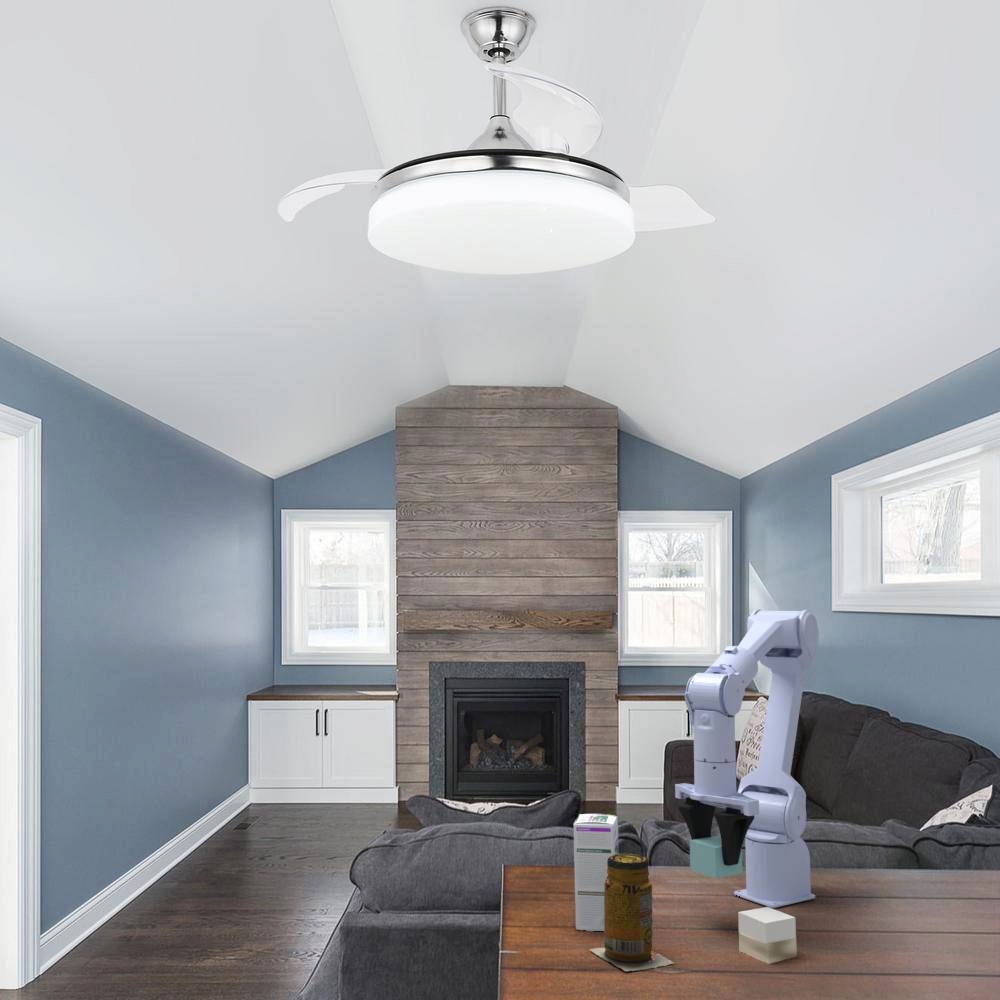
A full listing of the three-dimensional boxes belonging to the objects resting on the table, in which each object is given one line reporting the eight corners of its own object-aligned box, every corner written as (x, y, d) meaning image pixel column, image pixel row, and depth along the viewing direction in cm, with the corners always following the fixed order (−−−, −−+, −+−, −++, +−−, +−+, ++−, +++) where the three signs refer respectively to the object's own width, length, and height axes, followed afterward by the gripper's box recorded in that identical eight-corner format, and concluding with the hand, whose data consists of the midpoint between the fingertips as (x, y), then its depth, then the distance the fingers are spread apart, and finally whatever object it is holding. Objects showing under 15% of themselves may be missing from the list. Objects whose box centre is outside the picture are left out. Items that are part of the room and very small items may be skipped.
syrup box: (617, 933, 132) (616, 823, 134) (573, 930, 133) (573, 821, 135) (620, 920, 138) (619, 814, 139) (578, 917, 139) (578, 812, 140)
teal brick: (716, 864, 139) (715, 835, 140) (742, 873, 135) (741, 843, 135) (690, 869, 136) (689, 840, 137) (715, 878, 132) (715, 847, 133)
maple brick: (766, 946, 128) (766, 926, 128) (796, 958, 124) (796, 937, 124) (739, 953, 125) (738, 933, 126) (768, 965, 121) (768, 945, 121)
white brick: (768, 926, 128) (767, 906, 129) (795, 938, 124) (795, 917, 124) (738, 932, 126) (738, 912, 126) (765, 944, 122) (765, 923, 122)
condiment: (636, 943, 129) (635, 849, 130) (675, 964, 121) (673, 864, 122) (588, 951, 125) (588, 855, 127) (625, 974, 118) (624, 871, 119)
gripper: (658, 755, 141) (659, 852, 140) (731, 769, 129) (733, 876, 128) (695, 751, 145) (696, 845, 144) (769, 765, 133) (771, 868, 131)
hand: (716, 859), depth 136 cm, fingers closed on teal brick, 5 cm apart
